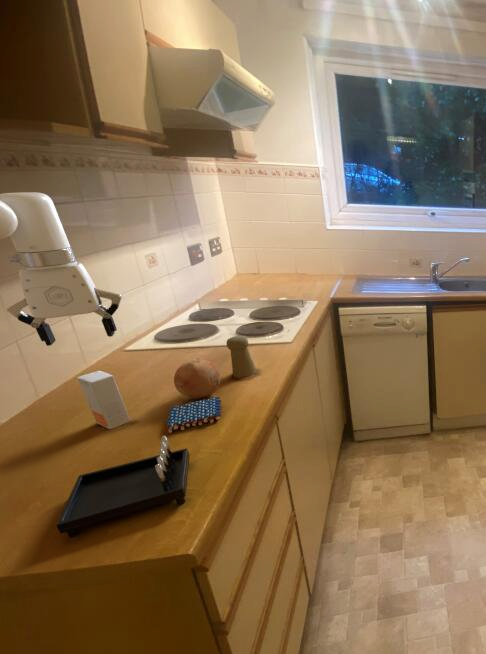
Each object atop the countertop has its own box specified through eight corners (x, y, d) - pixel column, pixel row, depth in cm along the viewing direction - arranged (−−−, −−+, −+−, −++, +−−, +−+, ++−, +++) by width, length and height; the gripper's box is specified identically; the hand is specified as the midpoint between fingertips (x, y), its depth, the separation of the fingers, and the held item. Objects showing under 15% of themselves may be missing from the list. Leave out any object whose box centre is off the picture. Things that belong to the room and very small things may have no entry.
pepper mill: (240, 379, 121) (231, 342, 117) (228, 374, 124) (218, 338, 120) (261, 371, 126) (253, 336, 122) (249, 367, 129) (240, 332, 125)
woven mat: (170, 413, 104) (167, 406, 103) (222, 402, 109) (219, 395, 108) (166, 434, 96) (163, 426, 95) (222, 420, 101) (220, 413, 100)
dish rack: (64, 541, 68) (43, 501, 65) (85, 490, 79) (68, 453, 76) (187, 503, 76) (174, 466, 73) (191, 461, 87) (180, 427, 84)
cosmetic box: (95, 423, 100) (75, 377, 95) (117, 415, 103) (99, 369, 98) (109, 430, 97) (90, 382, 93) (131, 421, 101) (114, 374, 96)
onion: (188, 389, 116) (177, 354, 112) (230, 385, 118) (221, 351, 114) (172, 406, 107) (159, 370, 103) (217, 402, 109) (206, 366, 105)
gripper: (-23, 267, 79) (19, 353, 85) (101, 257, 87) (131, 336, 94) (-7, 260, 84) (32, 341, 91) (109, 251, 93) (136, 326, 100)
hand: (82, 339), depth 92 cm, fingers open, 9 cm apart
